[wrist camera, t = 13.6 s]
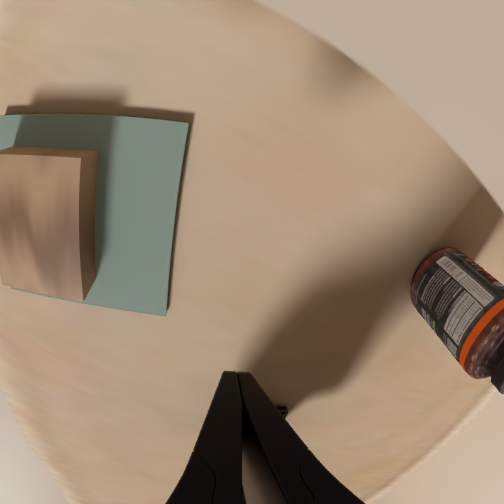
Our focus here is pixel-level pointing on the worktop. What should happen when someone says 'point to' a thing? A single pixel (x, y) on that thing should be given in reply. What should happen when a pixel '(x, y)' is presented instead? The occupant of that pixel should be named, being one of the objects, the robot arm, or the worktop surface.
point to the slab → (48, 220)
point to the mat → (120, 197)
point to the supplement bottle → (463, 311)
